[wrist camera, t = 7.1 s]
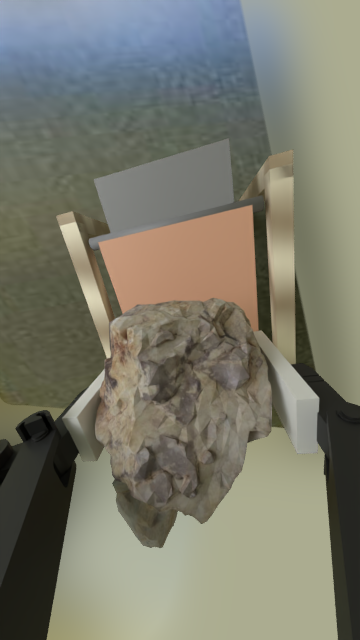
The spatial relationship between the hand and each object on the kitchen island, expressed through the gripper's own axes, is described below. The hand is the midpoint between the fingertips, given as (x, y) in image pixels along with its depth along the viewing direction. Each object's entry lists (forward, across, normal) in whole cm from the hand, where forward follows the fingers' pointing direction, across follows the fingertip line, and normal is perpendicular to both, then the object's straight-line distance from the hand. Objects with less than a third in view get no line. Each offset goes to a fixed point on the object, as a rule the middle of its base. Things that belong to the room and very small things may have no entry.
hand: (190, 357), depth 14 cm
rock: (+1, 0, +1) cm, 1 cm away
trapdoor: (+7, 0, +5) cm, 8 cm away
